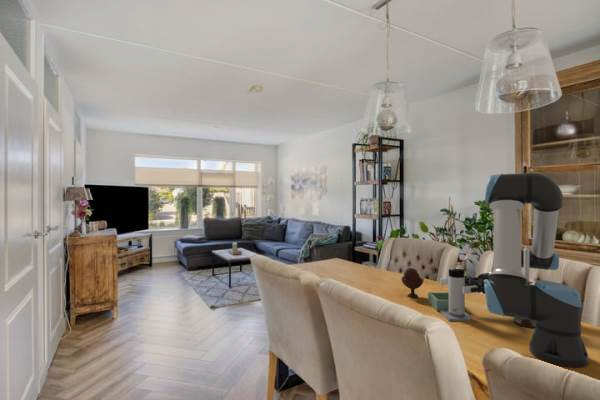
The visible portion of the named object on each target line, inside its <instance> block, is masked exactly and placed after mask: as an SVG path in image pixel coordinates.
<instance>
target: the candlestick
mask: <svg viewBox="0 0 600 400" xmlns="http://www.w3.org/2000/svg"><path fill="white" fill-rule="evenodd" d="M524 242H525V243H524V244H525V248H523V251H524V267H523V275H524V276H525V277H526V278H527V284H530V285H531V284H533V282H532V281H530V268H529V251H530V248H529V247H528V240H527V238H526V237H524ZM512 321H513V323H514V324H515V325H517V326H519V327H521V328H525V329H526V328H527V329H535V327H536V321H534V320H528V319H521V318H515V317H513V320H512Z"/></svg>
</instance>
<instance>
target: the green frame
mask: <svg viewBox="0 0 600 400" xmlns="http://www.w3.org/2000/svg"><path fill="white" fill-rule="evenodd" d="M427 298H428V299H427V300H428V303H427V304H429V305H430V306H431V307H432V308H433V310H435V311H436V312H440V310H449V291H448V292H444V291H443V292H441V291H436V292H434V291H433V292H432V291H431V292H430V291H429V292H427Z"/></svg>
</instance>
